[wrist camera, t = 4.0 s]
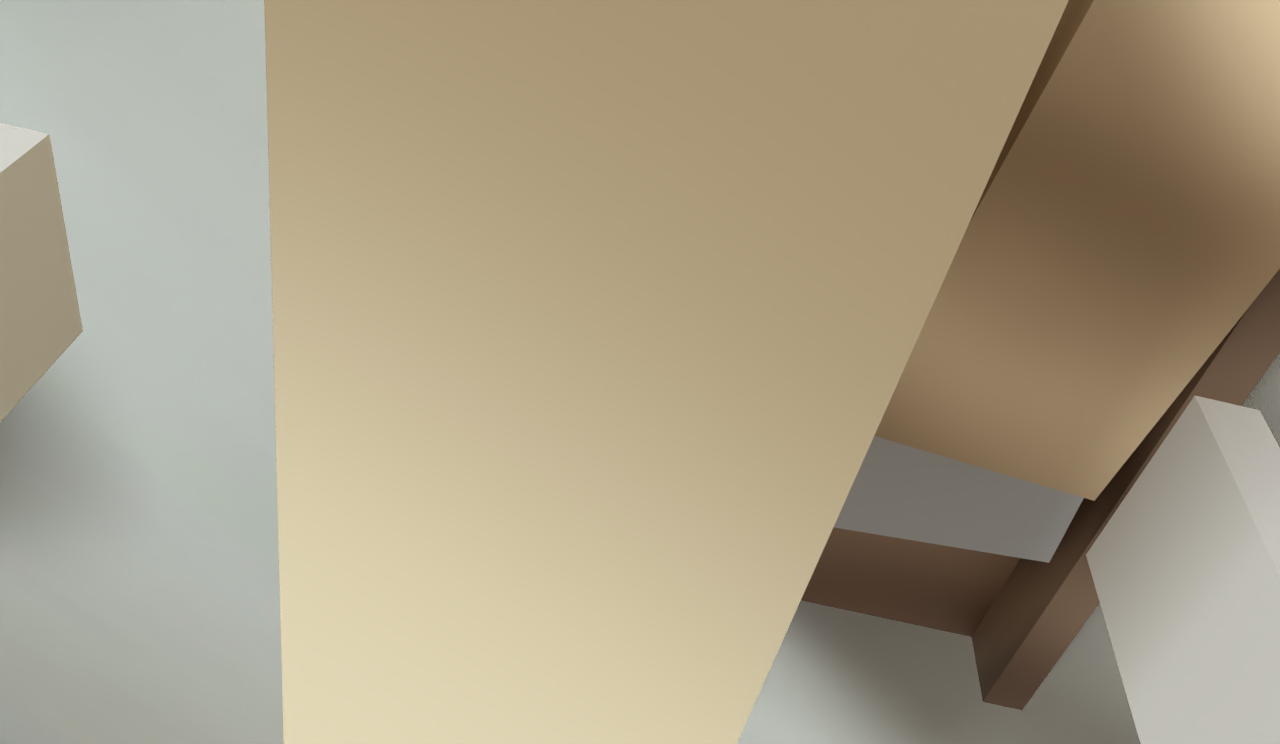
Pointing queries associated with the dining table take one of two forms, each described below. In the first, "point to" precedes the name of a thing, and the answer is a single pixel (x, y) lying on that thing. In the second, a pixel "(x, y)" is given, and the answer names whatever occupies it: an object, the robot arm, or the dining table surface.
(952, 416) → the offcut top
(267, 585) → the dining table surface
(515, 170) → the sheet
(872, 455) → the offcut middle
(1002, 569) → the rack
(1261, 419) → the robot arm
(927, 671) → the dining table surface
